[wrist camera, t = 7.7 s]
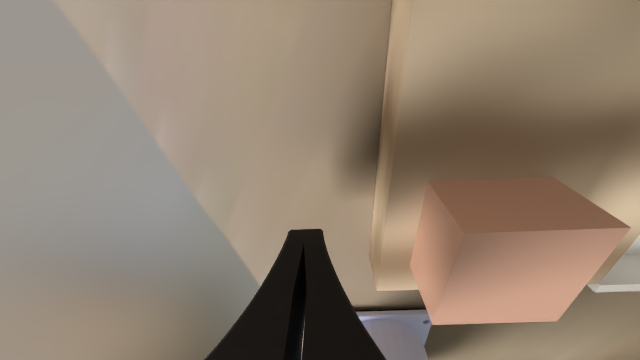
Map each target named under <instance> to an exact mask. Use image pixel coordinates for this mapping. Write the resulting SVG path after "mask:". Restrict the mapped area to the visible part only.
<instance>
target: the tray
mask: <svg viewBox="0 0 640 360" xmlns="http://www.w3.org/2000/svg"><path fill="white" fill-rule="evenodd" d="M586 285H588V286H589V287H590V288H591V289H592V290H593V291H594V292H623V291H640V235H639V236H638V237H637V238H636V240H635V241H634V242H633V243H632V245H631V246H630V247H629V248H628V249H627V251H626V252H625V253H624V254H623V255H622V257H621V258H620V259H619V260H618V261H617V263H616V264H615V265H614V266H613V267H612V269H611V270H610V271H609V272H608V273H607V275H606V276H605V277H604V278H603V279H602V281H601V282H600V283H599V284H586Z"/></svg>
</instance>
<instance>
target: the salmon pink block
mask: <svg viewBox="0 0 640 360" xmlns="http://www.w3.org/2000/svg"><path fill="white" fill-rule="evenodd" d="M630 229H631V227H629V226H628V225H626V224H625V223H623V222H622V221H620V220H619V219H617V218H616V217H614V216H613V215H611V214H609V213H608V212H606V211H605V210H603V209H602V208H600V207H599V206H597V205H596V204H594V203H593V202H591V201H589V200H588V199H586V198H585V197H583V196H582V195H580V194H579V193H577V192H576V191H574V190H573V189H571V188H569V187H568V186H566V185H565V184H563V183H562V182H560V181H559V180H557V179H556V178H554V177H532V178H505V179H478V180H452V181H428V182H427V187H426V192H425V196H424V201H423V206H422V210H421V215H420V220H419V224H418V229H417V234H416V238H415V243H414V248H413V252H412V257H411V262H410V267H411V270H412V273H413V275H414V278H415V281H416V283H417V286H418V288H419V291H420V294H421V296H422V299H423V301H424V304H425V307H426V309H427V312H428V314H429V317H430V320H431V322H432V325H450V324H483V323H516V322H549V321H558V319H559V318H560V317H561V316H562V314H563V313H564V312H565V311H566V309H567V308H568V307H569V306H570V304H571V303H572V302H573V301H574V299H575V298H576V297H577V296H578V294H579V293H580V292H581V290H582V289H583V288H584V287H585V285H586V284H587V283H588V282H589V280H590V279H591V278H592V277H593V275H594V274H595V273H596V272H597V270H598V269H599V268H600V267H601V265H602V264H603V263H604V262H605V260H606V259H607V258H608V256H609V255H610V254H611V253H612V251H613V250H614V249H615V248H616V246H617V245H618V244H619V243H620V241H621V240H622V239H623V238H624V236H625V235H626V234H627V233H628V231H629V230H630Z"/></svg>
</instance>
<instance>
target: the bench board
mask: <svg viewBox="0 0 640 360" xmlns="http://www.w3.org/2000/svg"><path fill="white" fill-rule="evenodd" d="M532 177H554V178H556V179H557V180H559V181H560V182H562V183H563V184H565V185H566V186H568V187H569V188H571V189H573V190H574V191H576V192H577V193H579V194H580V195H582V196H583V197H585V198H586V199H588V200H589V201H591V202H593V203H594V204H596V205H597V206H599V207H600V208H602V209H603V210H605V211H606V212H608V213H609V214H611V215H613V216H614V217H616V218H617V219H619V220H620V221H622V222H623V223H625V224H626V225H628V226H629V227H631V229H630V230H629V231H628V233H627V234H626V235H625V236H624V238H623V239H622V240H621V241H620V243H619V244H618V245H617V246H616V248H615V249H614V250H613V251H612V253H611V254H610V255H609V256H608V258H607V259H606V260H605V262H604V263H603V264H602V265H601V267H600V268H599V269H598V270H597V272H596V273H595V274H594V275H593V277H592V278H591V279H590V280H589V282H588V283H587V284H599V283H600V282H601V281H602V279H603V278H604V277H605V276H606V275H607V273H608V272H609V271H610V270H611V269H612V267H613V266H614V265H615V264H616V263H617V261H618V260H619V259H620V258H621V257H622V255H623V254H624V253H625V252H626V251H627V249H628V248H629V247H630V246H631V245H632V243H633V242H634V241H635V240H636V238H637V237H638V236H639V235H640V0H392V11H391V22H390V33H389V44H388V55H387V66H386V77H385V88H384V99H383V110H382V121H381V132H380V143H379V154H378V166H377V177H376V188H375V199H374V210H373V221H372V232H371V243H370V254H369V258H370V262H371V267H372V271H373V276H374V280H375V285H376V289H377V291H392V290H419V288H418V286H417V283H416V281H415V278H414V275H413V273H412V270H411V267H410V262H411V257H412V252H413V248H414V243H415V238H416V234H417V229H418V224H419V220H420V215H421V210H422V206H423V201H424V196H425V192H426V187H427V182H428V181H452V180H478V179H505V178H532Z"/></svg>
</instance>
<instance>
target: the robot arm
mask: <svg viewBox="0 0 640 360" xmlns="http://www.w3.org/2000/svg"><path fill="white" fill-rule="evenodd" d="M304 321H305V326H304ZM431 325H432V322H431V320H430V317H429V314H428V312H427V310H396V311H364V312H355V310H354V308H353V306H352V305H351V303H350V301H349V299H348V297H347V295H346V293H345V292H344V290H343V287H342V285H341V283H340V281H339V279H338V277H337V275H336V272H335V270H334V268H333V265H332V263H331V260H330V257H329V255H328V252H327V249H326V245H325V241H324V236H323V231H322V230H321V229H303V230H290V231H289V232H288V235H287V238H286V240H285V243H284V245H283V247H282V249H281V251H280V253H279V255H278V257H277V259H276V261H275V263H274V265H273V267H272V268H271V270H270V272H269V274H268V275H267V277H266V279H265V280H264V282H263V284H262V285H261V287H260V289H259V290H258V292H257V293H256V295H255V296H254V298H253V299H252V301H251V302H250V304H249V305H248V306H247V308H246V309H245V311H244V312H243V313H242V315H241V316H240V317H239V319H238V320H237V321H236V323H235V324H234V325H233V326H232V328H231V329H230V330H229V332H228V333H227V334H226V336H225V337H224V338H223V339H222V340H221V341H220V343H219V344H218V345H217V346H216V347H215V348H214V350H213V351H212V352H211V353H210V354H209V355H208V356H207V357H206V359H205V360H301V350H302V339H303V330H304V340H303V353H302V360H428V357H427V354H426V351H425V348H424V345H425V342H426V340H427V337H428V334H429V331H430V328H431Z"/></svg>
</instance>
